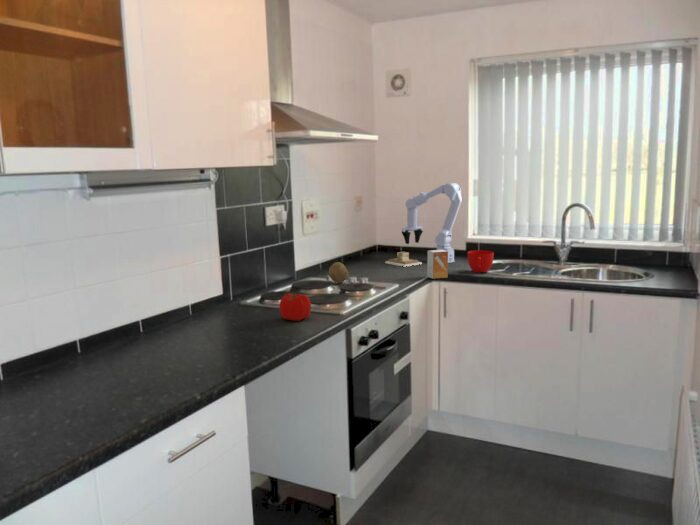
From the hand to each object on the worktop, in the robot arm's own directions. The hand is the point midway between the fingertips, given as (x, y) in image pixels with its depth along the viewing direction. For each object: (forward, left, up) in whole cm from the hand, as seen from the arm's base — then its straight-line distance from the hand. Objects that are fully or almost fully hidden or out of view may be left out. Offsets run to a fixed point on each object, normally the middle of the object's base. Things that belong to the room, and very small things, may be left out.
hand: (412, 243), depth 332 cm
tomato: (-70, +122, -10) cm, 141 cm away
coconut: (-28, +73, -10) cm, 79 cm away
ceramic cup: (-53, +3, -10) cm, 54 cm away
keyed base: (-8, +14, -9) cm, 19 cm away
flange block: (-8, +14, -8) cm, 18 cm away
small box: (-48, +28, -10) cm, 56 cm away
